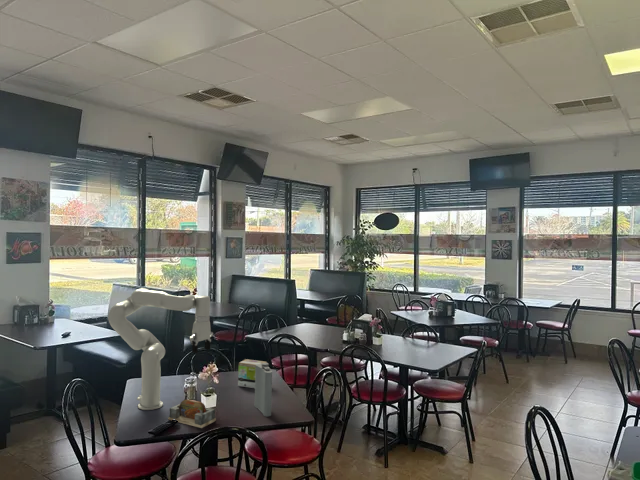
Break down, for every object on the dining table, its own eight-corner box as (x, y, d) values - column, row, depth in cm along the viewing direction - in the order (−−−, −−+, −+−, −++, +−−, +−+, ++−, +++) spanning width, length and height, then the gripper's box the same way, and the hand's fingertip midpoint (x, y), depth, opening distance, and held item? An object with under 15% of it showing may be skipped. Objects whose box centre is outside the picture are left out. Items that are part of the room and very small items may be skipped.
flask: (273, 415, 243) (274, 367, 243) (265, 416, 241) (266, 367, 241) (261, 404, 258) (263, 358, 258) (253, 405, 256) (255, 359, 256)
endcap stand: (201, 428, 224) (201, 416, 224) (168, 419, 234) (168, 408, 234) (215, 420, 234) (215, 409, 234) (183, 412, 243) (183, 401, 243)
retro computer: (237, 386, 289) (238, 362, 289) (244, 382, 298) (245, 358, 298) (260, 389, 284) (260, 365, 284) (266, 384, 294) (267, 361, 294)
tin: (178, 415, 236) (179, 398, 236) (183, 413, 239) (183, 397, 239) (202, 421, 229) (202, 404, 229) (206, 419, 232) (207, 402, 232)
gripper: (207, 316, 263) (206, 346, 263) (185, 320, 247) (184, 353, 247) (218, 317, 259) (217, 348, 259) (196, 321, 244) (195, 355, 244)
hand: (201, 350), depth 253 cm, fingers open, 9 cm apart
